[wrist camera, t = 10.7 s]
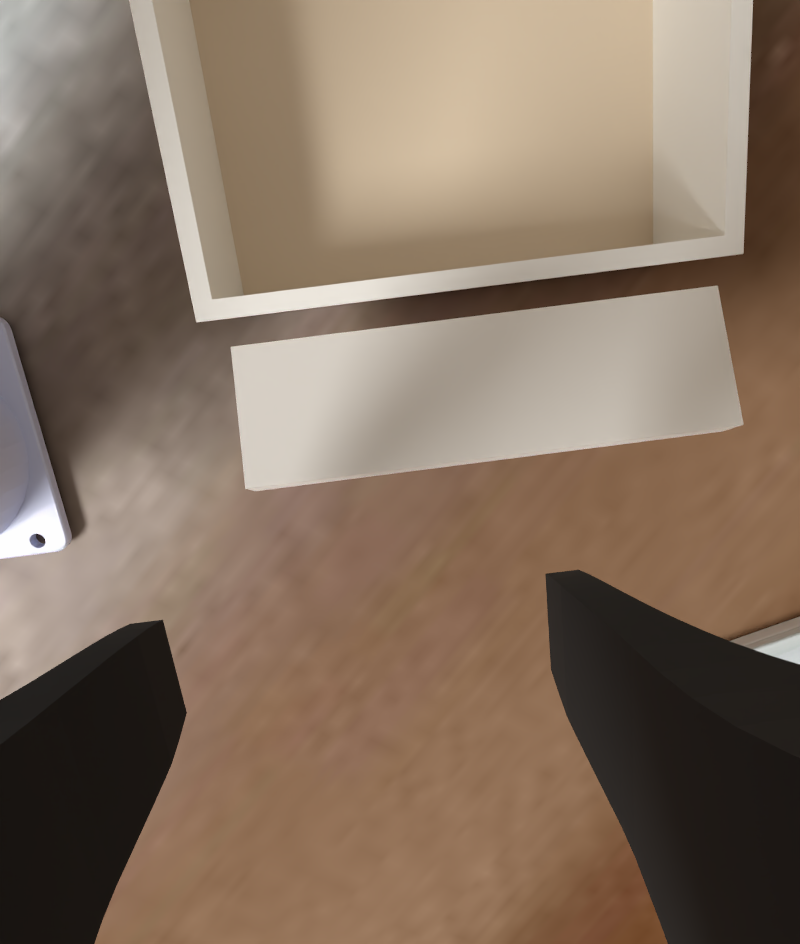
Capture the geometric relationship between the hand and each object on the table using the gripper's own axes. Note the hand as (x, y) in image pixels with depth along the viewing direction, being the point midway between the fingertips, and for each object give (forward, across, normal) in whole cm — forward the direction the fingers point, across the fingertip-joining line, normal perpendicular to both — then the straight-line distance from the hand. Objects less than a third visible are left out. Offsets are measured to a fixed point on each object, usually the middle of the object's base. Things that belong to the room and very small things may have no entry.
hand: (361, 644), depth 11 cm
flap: (+5, -3, -4) cm, 7 cm away
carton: (+10, -3, -12) cm, 16 cm away
